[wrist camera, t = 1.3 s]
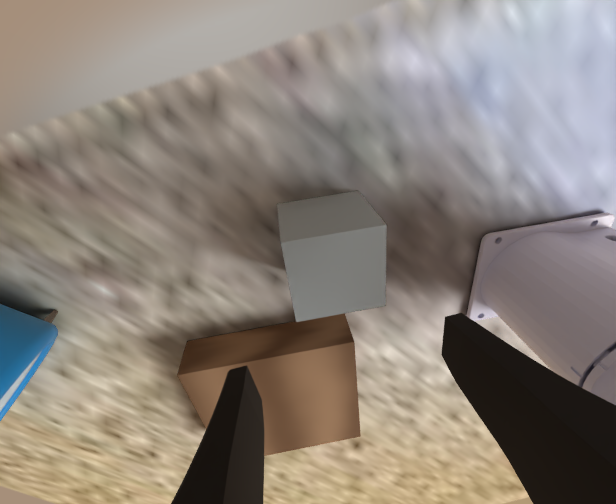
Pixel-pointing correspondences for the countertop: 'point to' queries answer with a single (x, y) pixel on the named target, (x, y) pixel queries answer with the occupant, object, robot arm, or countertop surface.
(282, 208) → the slate cube
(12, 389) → the alarm clock
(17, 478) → the countertop surface
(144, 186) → the countertop surface
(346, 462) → the countertop surface
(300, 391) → the walnut base
